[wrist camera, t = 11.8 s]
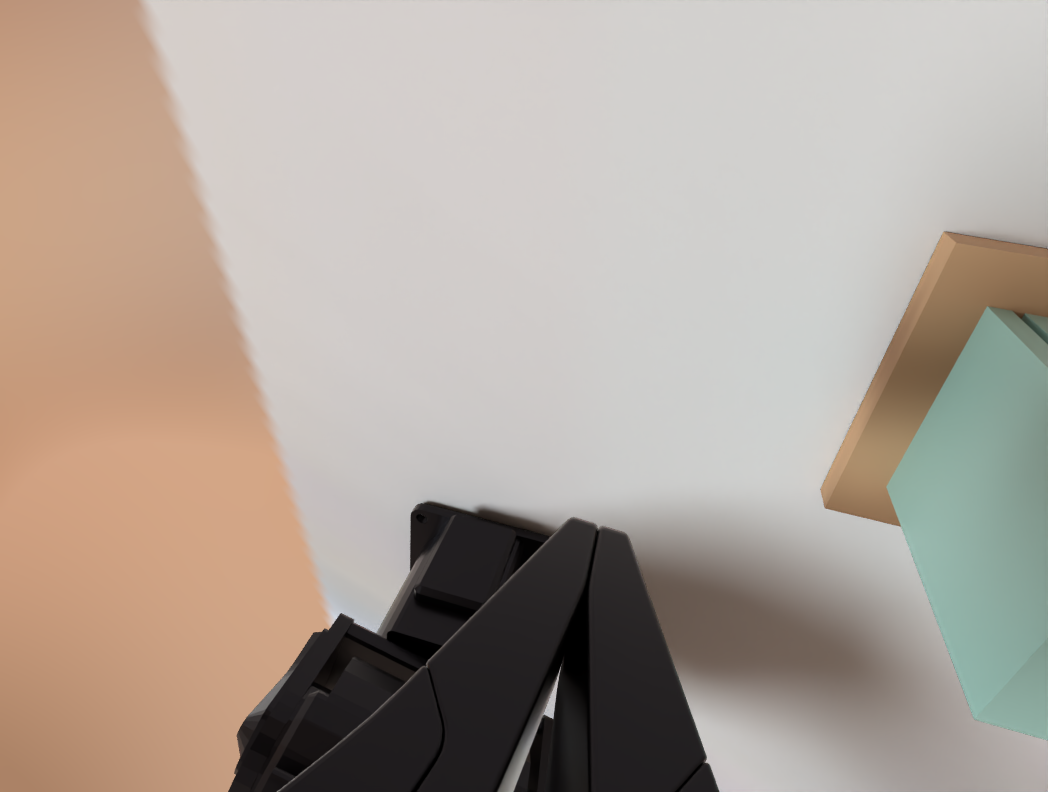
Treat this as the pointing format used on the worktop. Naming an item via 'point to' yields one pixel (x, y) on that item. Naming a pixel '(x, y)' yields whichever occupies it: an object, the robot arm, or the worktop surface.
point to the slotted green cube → (987, 518)
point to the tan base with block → (928, 360)
